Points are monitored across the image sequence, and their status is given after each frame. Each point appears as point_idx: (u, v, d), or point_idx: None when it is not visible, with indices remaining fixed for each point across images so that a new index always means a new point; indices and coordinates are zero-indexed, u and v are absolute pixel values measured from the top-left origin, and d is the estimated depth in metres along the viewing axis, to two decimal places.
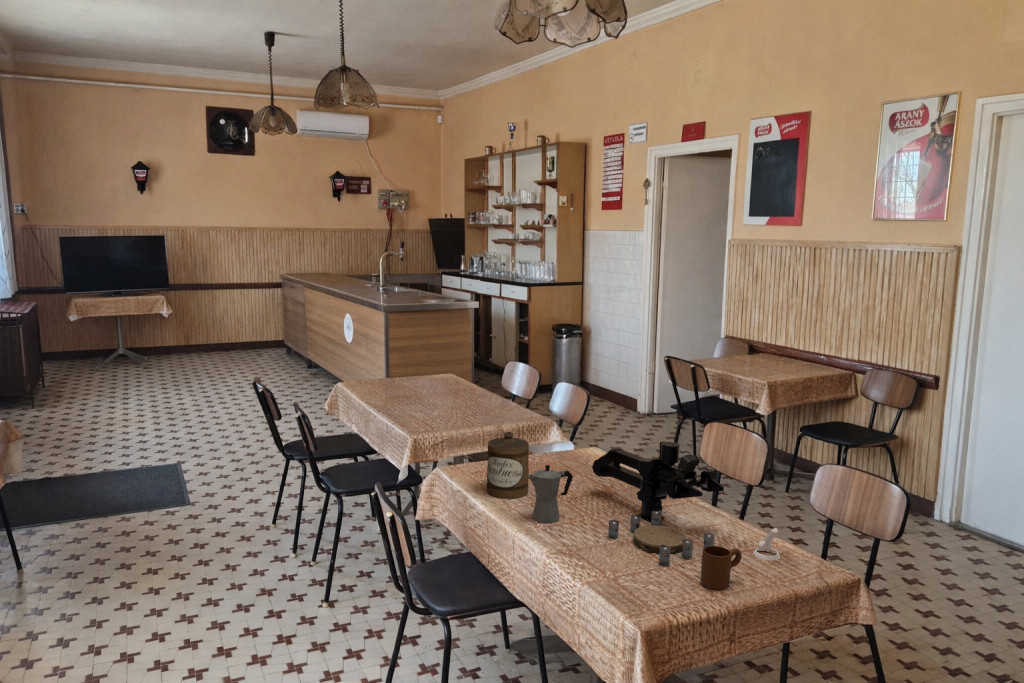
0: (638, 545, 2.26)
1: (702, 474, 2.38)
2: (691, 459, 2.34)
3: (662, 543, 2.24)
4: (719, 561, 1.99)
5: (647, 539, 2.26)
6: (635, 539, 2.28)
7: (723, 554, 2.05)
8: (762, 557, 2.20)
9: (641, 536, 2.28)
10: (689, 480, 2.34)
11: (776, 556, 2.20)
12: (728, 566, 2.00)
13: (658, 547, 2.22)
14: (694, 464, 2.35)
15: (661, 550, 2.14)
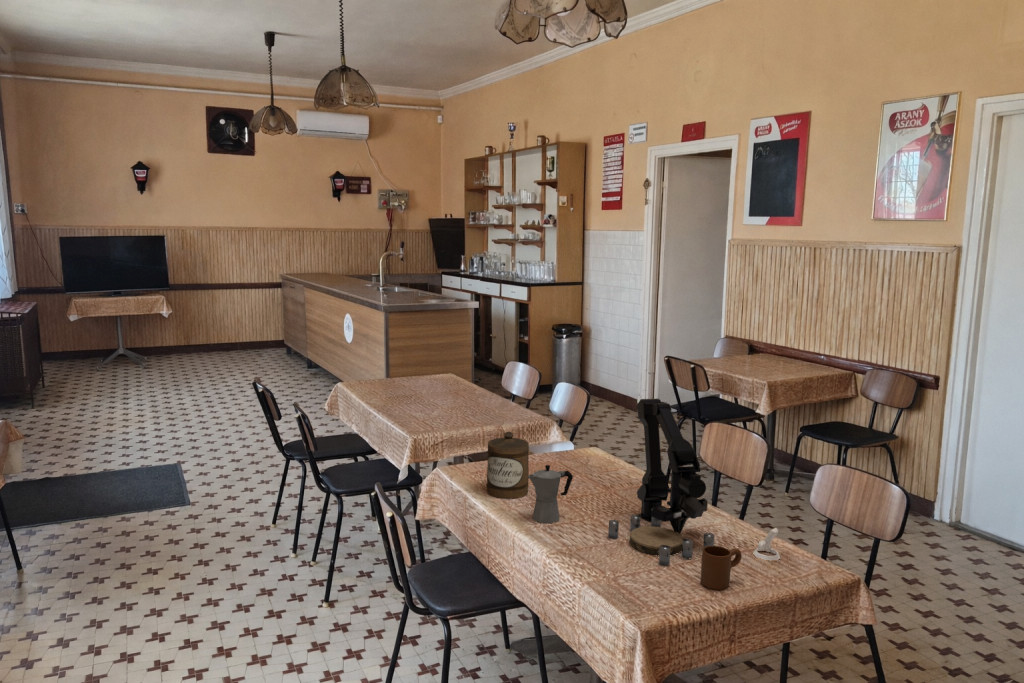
0: (635, 546, 2.25)
1: None
2: (697, 516, 2.26)
3: (659, 543, 2.23)
4: (719, 561, 1.99)
5: (644, 540, 2.25)
6: (631, 540, 2.27)
7: (723, 554, 2.05)
8: (762, 557, 2.20)
9: (638, 537, 2.27)
10: None
11: (776, 556, 2.20)
12: (728, 566, 2.00)
13: (655, 548, 2.21)
14: None
15: (661, 550, 2.14)
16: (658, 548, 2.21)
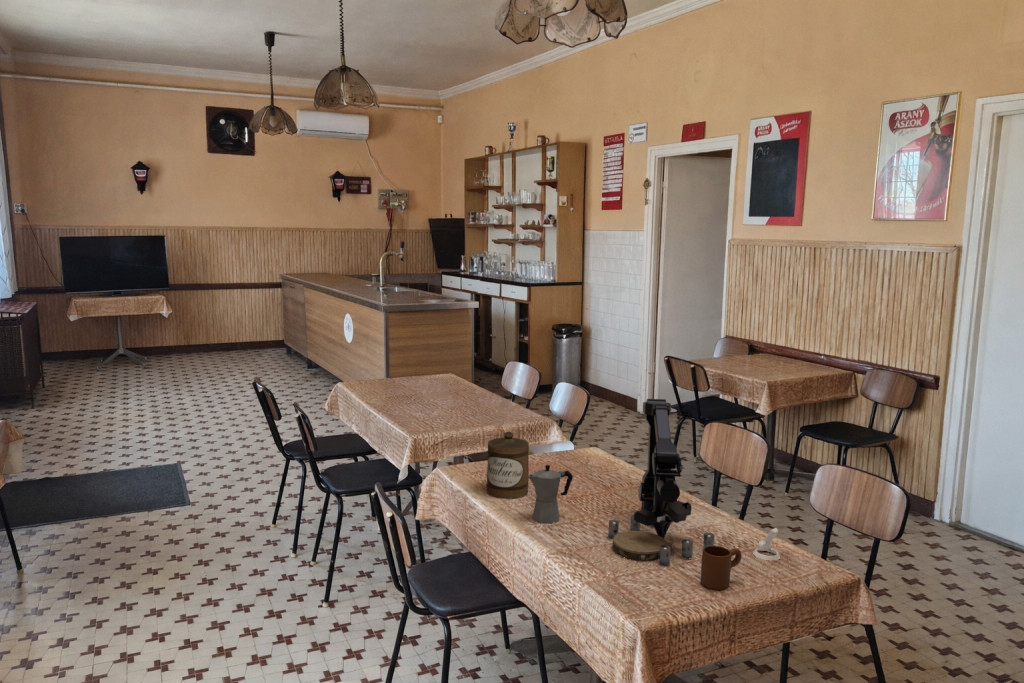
0: (617, 551, 2.21)
1: None
2: (680, 520, 2.22)
3: (642, 548, 2.19)
4: (719, 561, 1.99)
5: (627, 545, 2.21)
6: (614, 545, 2.23)
7: (723, 554, 2.05)
8: (762, 557, 2.20)
9: (621, 542, 2.23)
10: None
11: (776, 556, 2.20)
12: (728, 566, 2.00)
13: (638, 553, 2.17)
14: None
15: (661, 550, 2.14)
16: (641, 553, 2.17)
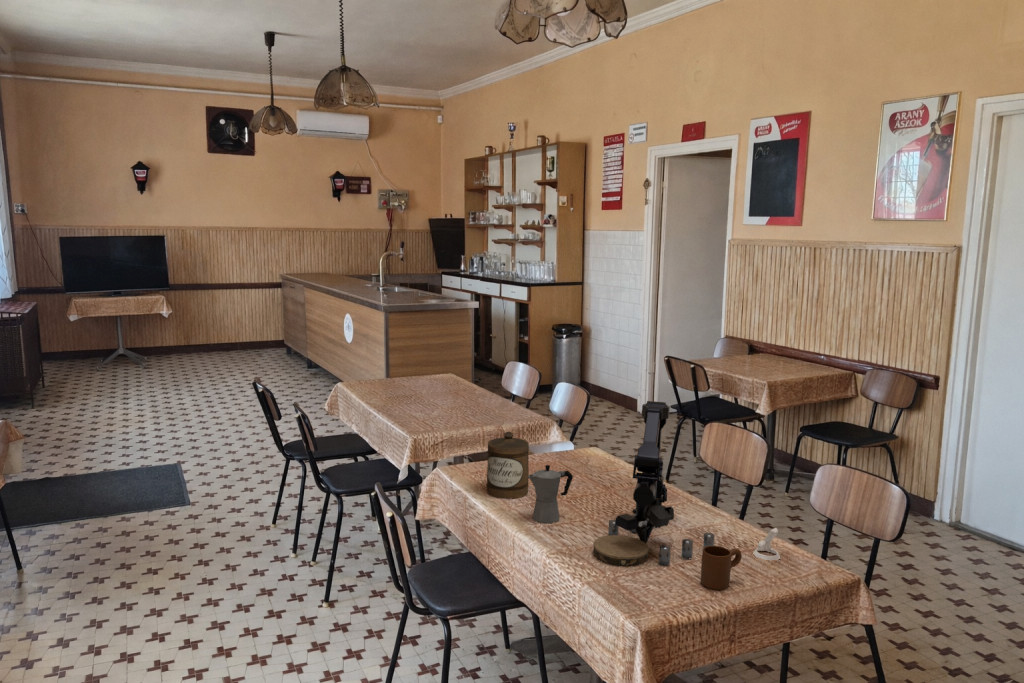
0: (598, 556, 2.17)
1: None
2: (662, 525, 2.18)
3: (623, 553, 2.15)
4: (719, 561, 1.99)
5: (607, 550, 2.17)
6: (595, 550, 2.19)
7: (723, 554, 2.05)
8: (762, 557, 2.20)
9: (601, 546, 2.19)
10: None
11: (776, 556, 2.20)
12: (728, 566, 2.00)
13: (618, 558, 2.13)
14: None
15: (661, 550, 2.14)
16: (621, 558, 2.13)
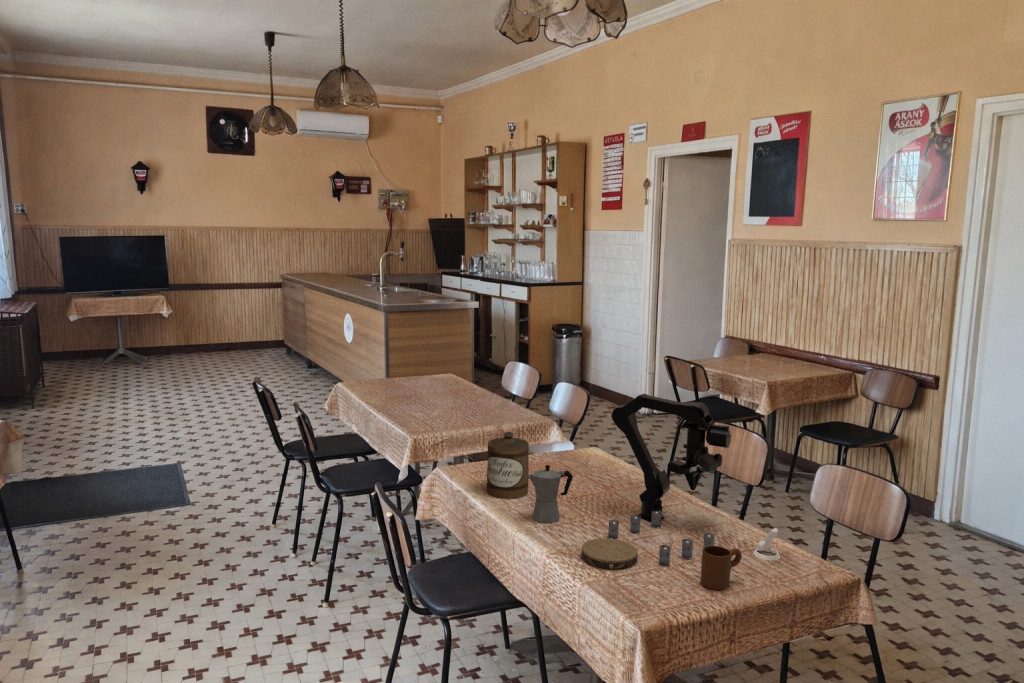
0: (586, 560, 2.15)
1: None
2: (712, 470, 2.35)
3: (611, 557, 2.13)
4: (719, 561, 1.99)
5: (596, 553, 2.15)
6: (583, 553, 2.17)
7: (723, 554, 2.05)
8: (762, 557, 2.20)
9: (589, 550, 2.17)
10: None
11: (776, 556, 2.20)
12: (728, 566, 2.00)
13: (606, 562, 2.11)
14: None
15: (661, 550, 2.14)
16: (609, 562, 2.11)
